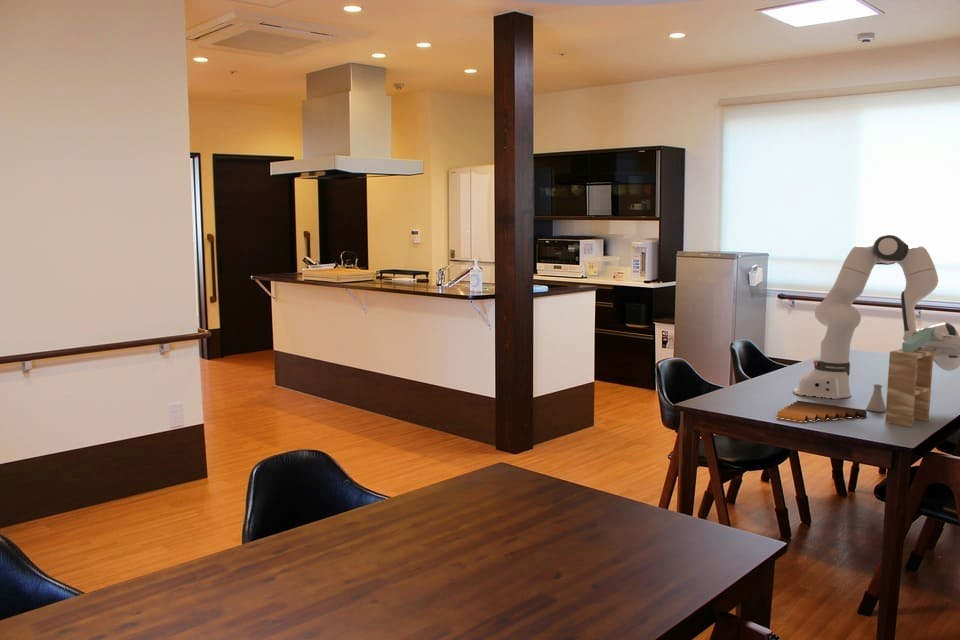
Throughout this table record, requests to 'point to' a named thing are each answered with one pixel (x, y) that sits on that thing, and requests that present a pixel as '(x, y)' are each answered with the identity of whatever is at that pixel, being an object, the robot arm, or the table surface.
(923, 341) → the mint green bar
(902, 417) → the rack
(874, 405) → the flask
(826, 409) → the pan flute
